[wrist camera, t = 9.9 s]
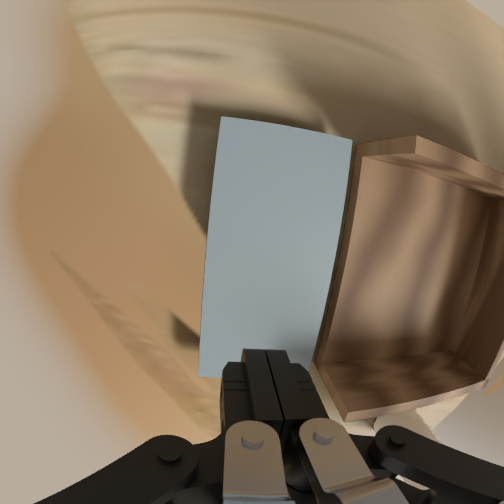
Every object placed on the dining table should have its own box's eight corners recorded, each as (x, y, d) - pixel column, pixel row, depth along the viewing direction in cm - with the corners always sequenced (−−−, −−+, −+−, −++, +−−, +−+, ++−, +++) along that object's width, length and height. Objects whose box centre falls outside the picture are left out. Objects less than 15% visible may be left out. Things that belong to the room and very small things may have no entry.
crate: (488, 188, 27) (543, 198, 18) (446, 351, 32) (485, 386, 23) (356, 144, 24) (416, 135, 15) (314, 363, 29) (344, 422, 20)
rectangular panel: (352, 140, 21) (221, 116, 19) (307, 376, 26) (198, 376, 25) (341, 142, 23) (219, 121, 22) (301, 364, 29) (198, 363, 27)
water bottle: (383, 402, 33) (474, 542, 9) (418, 397, 34) (509, 515, 9) (360, 443, 35) (425, 571, 11) (394, 437, 36) (462, 549, 12)
